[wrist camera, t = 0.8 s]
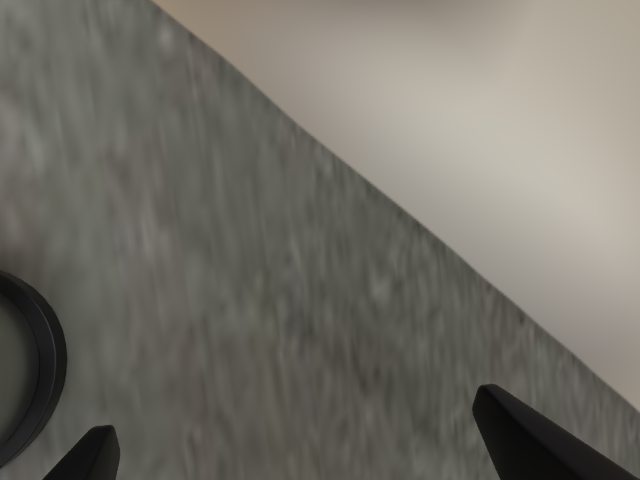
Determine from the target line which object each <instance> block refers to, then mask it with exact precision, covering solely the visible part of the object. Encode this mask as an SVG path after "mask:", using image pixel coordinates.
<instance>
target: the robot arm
mask: <svg viewBox="0 0 640 480" xmlns="http://www.w3.org/2000/svg"><path fill="white" fill-rule="evenodd" d="M472 411H473V416H474V419H475V421H476V423H477V426H478V428H479V431H480V433H481V435H482V438H483V440H484V442H485V445H486V447H487V450H488V452H489V454H490V457H491V459H492V462H493V464H494V466H495V469H496V471H497V473H498V475H499V477H500V479H501V480H640V479H638V478H637V477H635V476H634V475H632V474H631V473H629V472H628V471H626V470H625V469H623V468H622V467H620V466H619V465H617V464H616V463H614V462H613V461H611V460H610V459H608V458H607V457H605V456H604V455H602V454H601V453H599V452H598V451H596V450H595V449H593V448H591V447H590V446H588V445H587V444H585V443H584V442H582V441H581V440H579V439H578V438H576V437H575V436H573V435H572V434H570V433H569V432H567V431H566V430H564V429H563V428H561V427H560V426H558V425H557V424H555V423H554V422H552V421H551V420H549V419H548V418H546V417H545V416H543V415H542V414H540V413H539V412H537V411H536V410H534V409H533V408H531V407H529V406H528V405H526V404H525V403H523V402H522V401H520V400H519V399H517V398H516V397H514V396H513V395H511V394H510V393H508V392H507V391H505V390H504V389H502V388H501V387H499V386H498V385H495V384H487V385H481V386H480V387H479V388H478V390H477V393H476V397H475V400H474V403H473V407H472ZM119 460H120V447H119V443H118V439H117V436H116V432H115V428H114V427H113V426H112V425H104V426H96V427H93V428H91V429H90V430H89V431H88V432H87V433H86V434H85V435H84V436H83V437H82V438H81V439H80V440H79V441H78V442H77V444H76V445H75V446H74V447H73V448H72V449H71V450H70V451H69V452H68V453H67V454H66V455H65V456H64V457H63V458H62V459H61V460H60V461H59V462H58V464H57V465H56V466H55V467H54V468H53V469H52V470H51V471H50V472H49V473H48V474H47V475H46V476H45V477H44V478H43V479H42V480H116V475H117V470H118V465H119Z"/></svg>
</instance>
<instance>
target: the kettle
mask: <svg viewBox="0 0 640 480" xmlns="http://www.w3.org/2000/svg"><path fill="white" fill-rule="evenodd" d="M66 362H67V356H66V344H65V340H64V335H63V331H62V329H61V326H60V324H59V321H58V319H57V317H56V315H55V314H54V312H53V310H52V308H51V307H50V306H49V304H48V303H47V302H46V301H45V299H44V298H43V297H42V296H41V295H40V294H39V293H38V292H37V291H36V290H35V289H34V288H32V287H31V286H30V285H28V284H27V283H25V282H24V281H22V280H21V279H19V278H17V277H15V276H13V275H11V274H9V273H6V272H4V271H1V270H0V469H1V468H2V467H4V466H5V465H7V464H8V463H9V462H11V461H12V460H13V459H14V458H16V457H17V456H18V455H19V454H20V453H22V452H23V451H24V450H25V449H26V448H27V447H28V446H29V445H30V444H31V443H32V442H33V440H34V439H35V438H36V437H37V436H38V434H39V433H40V432H41V431H42V429H43V428H44V426H45V425H46V423H47V422H48V420H49V418H50V417H51V415H52V413H53V411H54V409H55V407H56V405H57V403H58V400H59V397H60V394H61V392H62V389H63V384H64V379H65V375H66Z"/></svg>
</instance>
